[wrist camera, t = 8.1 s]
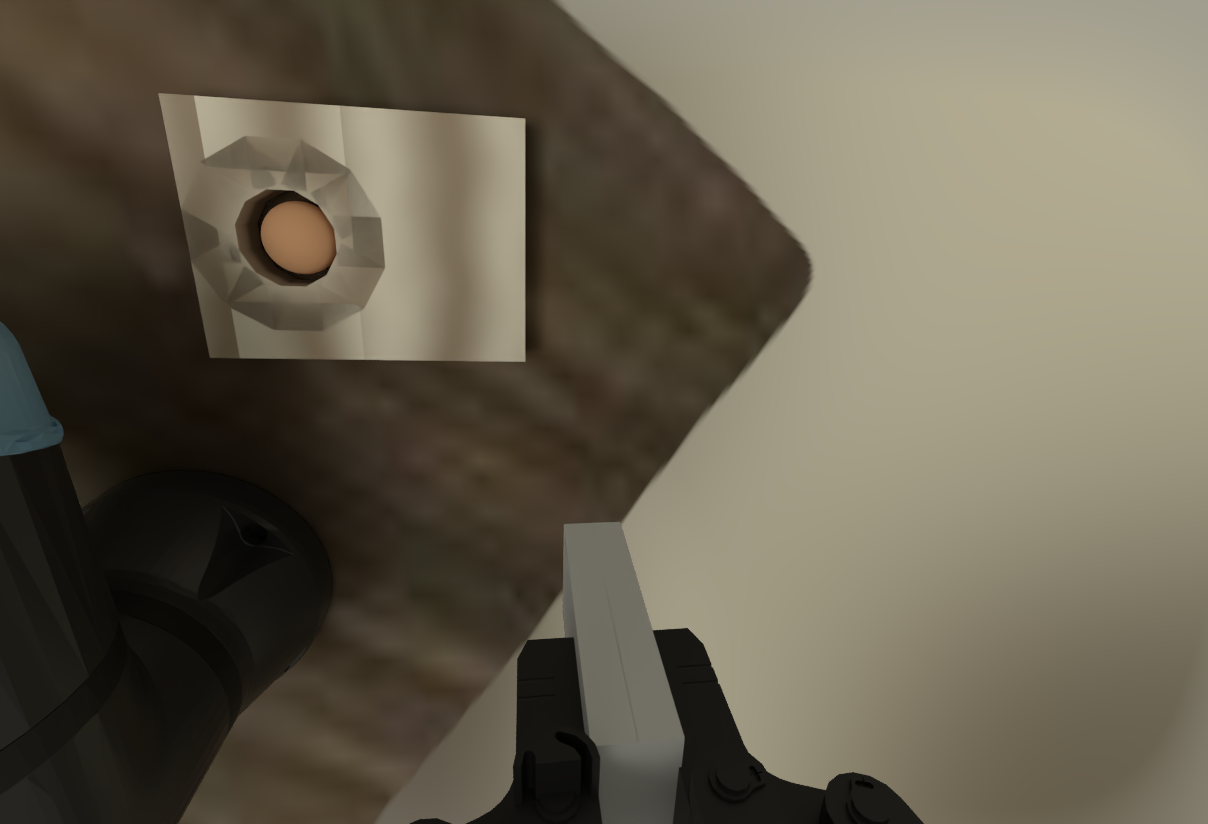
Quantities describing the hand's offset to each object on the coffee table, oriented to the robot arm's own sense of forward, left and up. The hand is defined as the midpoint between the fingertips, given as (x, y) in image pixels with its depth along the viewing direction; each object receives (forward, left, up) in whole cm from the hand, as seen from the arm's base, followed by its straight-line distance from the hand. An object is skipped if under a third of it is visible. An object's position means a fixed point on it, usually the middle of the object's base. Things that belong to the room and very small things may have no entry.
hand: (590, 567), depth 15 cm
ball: (-13, +7, -19) cm, 24 cm away
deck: (-10, +7, -20) cm, 24 cm away
